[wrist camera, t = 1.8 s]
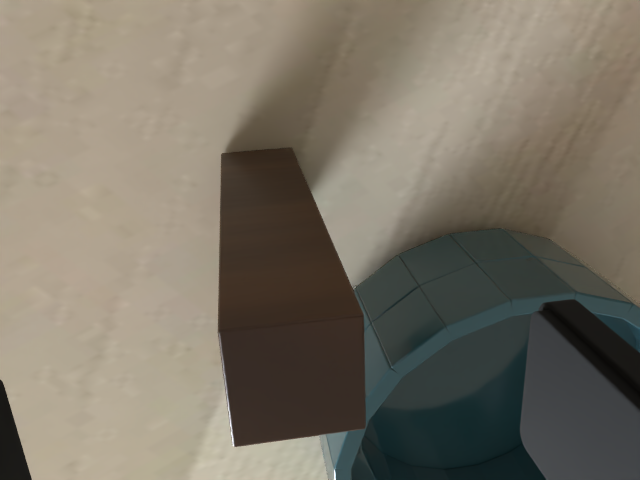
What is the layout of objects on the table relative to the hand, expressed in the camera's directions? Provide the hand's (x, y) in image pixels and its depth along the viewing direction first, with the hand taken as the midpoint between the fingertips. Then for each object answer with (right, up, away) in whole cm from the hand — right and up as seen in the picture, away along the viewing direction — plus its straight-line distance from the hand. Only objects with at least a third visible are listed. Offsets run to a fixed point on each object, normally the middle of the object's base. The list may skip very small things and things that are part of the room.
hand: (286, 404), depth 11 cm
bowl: (+7, -3, +15) cm, 17 cm away
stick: (-2, +5, +11) cm, 12 cm away
